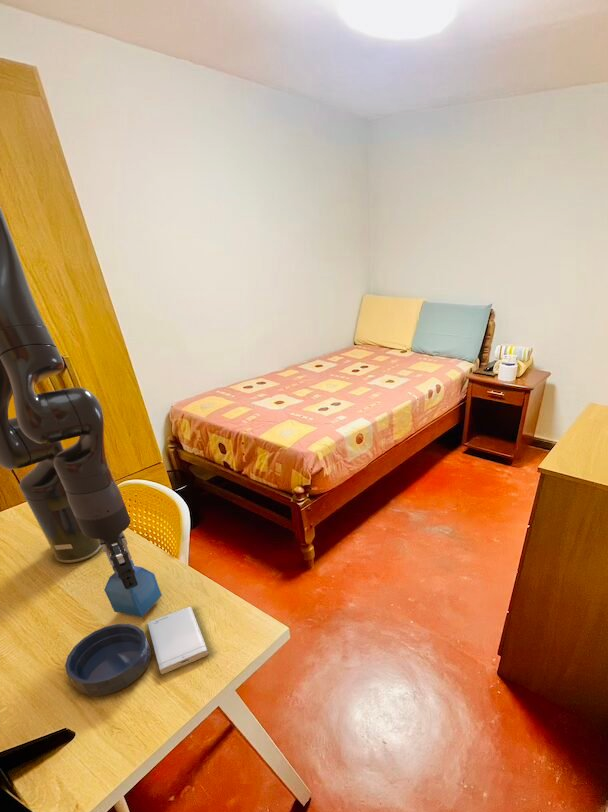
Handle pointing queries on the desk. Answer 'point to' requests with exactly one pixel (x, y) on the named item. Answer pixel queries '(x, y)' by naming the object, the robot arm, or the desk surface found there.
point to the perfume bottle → (133, 592)
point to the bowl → (108, 659)
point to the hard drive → (177, 640)
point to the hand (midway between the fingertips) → (127, 576)
